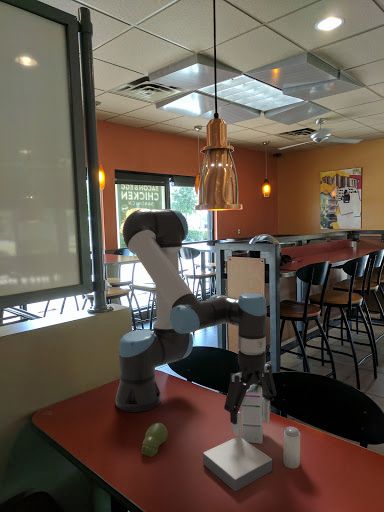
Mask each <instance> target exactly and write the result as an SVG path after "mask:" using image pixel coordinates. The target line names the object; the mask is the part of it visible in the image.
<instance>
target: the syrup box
mask: <svg viewBox="0 0 384 512" xmlns="http://www.w3.org/2000/svg"><path fill="white" fill-rule="evenodd" d="M243 384H244V385H246V384H245V383H243ZM262 397H263V395H262V386H260V385H258V384H257V383H256V384H253V385H251V386H250V388H249V389H248V390H247V391H246V394H245V396H244V399H243V401H242V404H241V406H240V412H241V438H242V439H244V440H245V441H247V442H248V443H249V444H251V443H252V444H263V439H264V438H263V436H264V435H263V434H264V421H263V401H262Z"/></svg>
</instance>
